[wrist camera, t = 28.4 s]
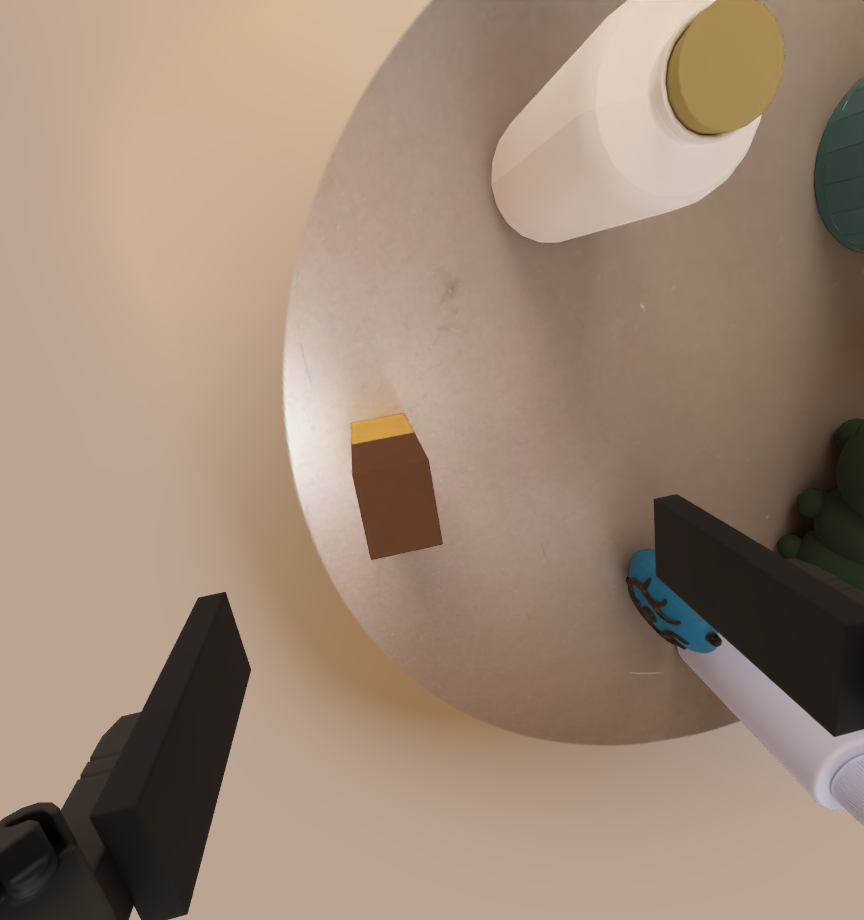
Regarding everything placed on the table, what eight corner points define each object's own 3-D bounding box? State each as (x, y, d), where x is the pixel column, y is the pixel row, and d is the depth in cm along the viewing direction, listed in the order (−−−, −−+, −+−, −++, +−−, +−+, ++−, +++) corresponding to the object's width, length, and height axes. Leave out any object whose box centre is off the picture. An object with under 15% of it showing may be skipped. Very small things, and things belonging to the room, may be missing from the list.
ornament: (601, 550, 44) (670, 617, 35) (649, 524, 44) (731, 584, 35) (633, 621, 47) (704, 701, 38) (678, 597, 47) (761, 671, 38)
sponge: (364, 486, 40) (371, 560, 28) (350, 423, 38) (352, 474, 27) (415, 475, 40) (442, 544, 29) (404, 412, 38) (428, 459, 27)
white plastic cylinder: (617, 123, 35) (874, -47, 18) (589, 254, 37) (793, 215, 20) (499, 94, 33) (657, -121, 16) (477, 233, 36) (596, 171, 19)
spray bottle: (732, 654, 50) (1005, 903, 29) (674, 668, 49) (910, 933, 29) (734, 600, 48) (1028, 826, 27) (674, 614, 48) (927, 855, 27)
